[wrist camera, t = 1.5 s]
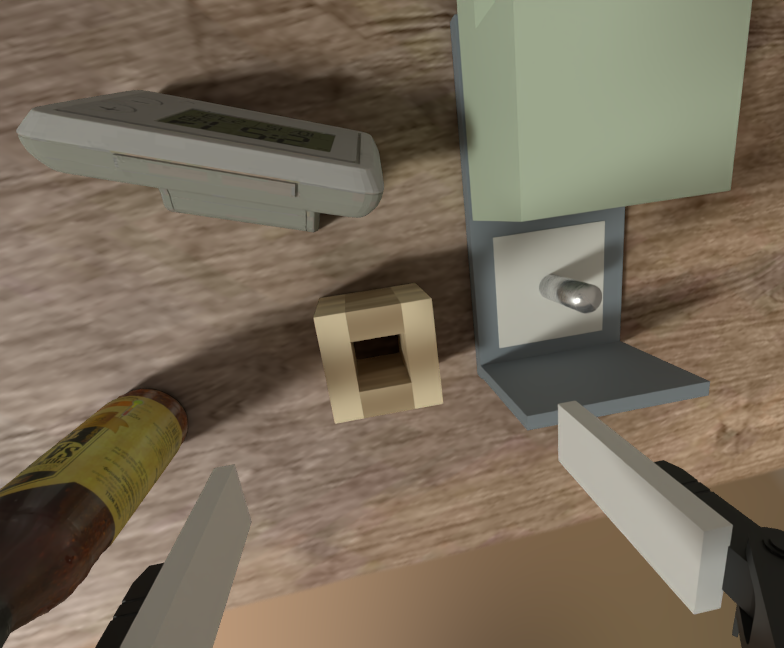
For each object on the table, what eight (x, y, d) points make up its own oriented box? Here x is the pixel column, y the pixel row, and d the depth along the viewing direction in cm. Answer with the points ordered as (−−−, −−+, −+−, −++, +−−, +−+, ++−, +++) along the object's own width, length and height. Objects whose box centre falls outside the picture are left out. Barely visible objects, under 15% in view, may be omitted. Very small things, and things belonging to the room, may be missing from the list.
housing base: (450, 22, 25) (507, -85, 16) (622, 4, 26) (766, -107, 17) (477, 373, 33) (527, 433, 24) (611, 349, 34) (708, 397, 25)
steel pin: (532, 274, 31) (574, 287, 25) (555, 270, 31) (602, 282, 25) (532, 297, 32) (574, 315, 26) (555, 293, 32) (602, 311, 26)
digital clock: (388, 146, 27) (415, 104, 17) (349, 265, 29) (351, 291, 19) (149, 45, 24) (4, -82, 14) (122, 187, 26) (-22, 168, 16)
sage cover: (452, -63, 23) (505, -203, 15) (638, -80, 24) (777, -219, 16) (472, 220, 28) (521, 221, 20) (627, 197, 29) (730, 190, 21)
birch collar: (319, 298, 29) (313, 317, 24) (415, 283, 30) (431, 298, 24) (336, 386, 32) (335, 423, 26) (425, 370, 32) (443, 403, 26)
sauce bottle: (140, 369, 29) (-239, 650, 10) (208, 416, 31) (-8, 732, 12) (89, 426, 30) (-351, 788, 11) (158, 469, 32) (-120, 846, 13)
